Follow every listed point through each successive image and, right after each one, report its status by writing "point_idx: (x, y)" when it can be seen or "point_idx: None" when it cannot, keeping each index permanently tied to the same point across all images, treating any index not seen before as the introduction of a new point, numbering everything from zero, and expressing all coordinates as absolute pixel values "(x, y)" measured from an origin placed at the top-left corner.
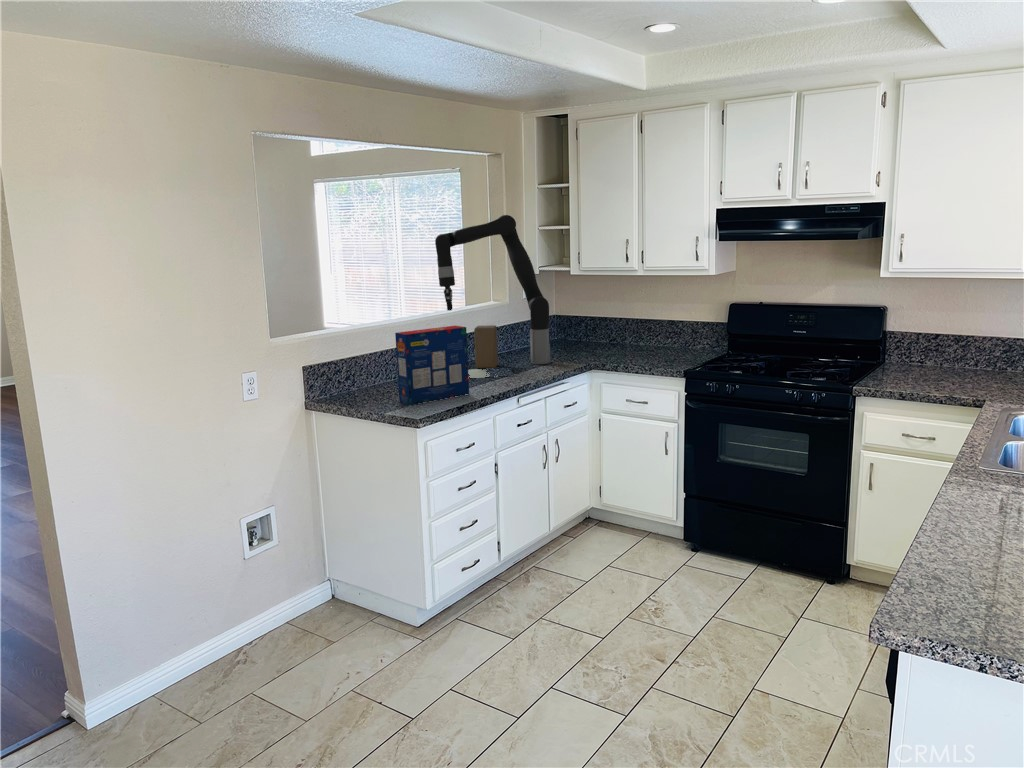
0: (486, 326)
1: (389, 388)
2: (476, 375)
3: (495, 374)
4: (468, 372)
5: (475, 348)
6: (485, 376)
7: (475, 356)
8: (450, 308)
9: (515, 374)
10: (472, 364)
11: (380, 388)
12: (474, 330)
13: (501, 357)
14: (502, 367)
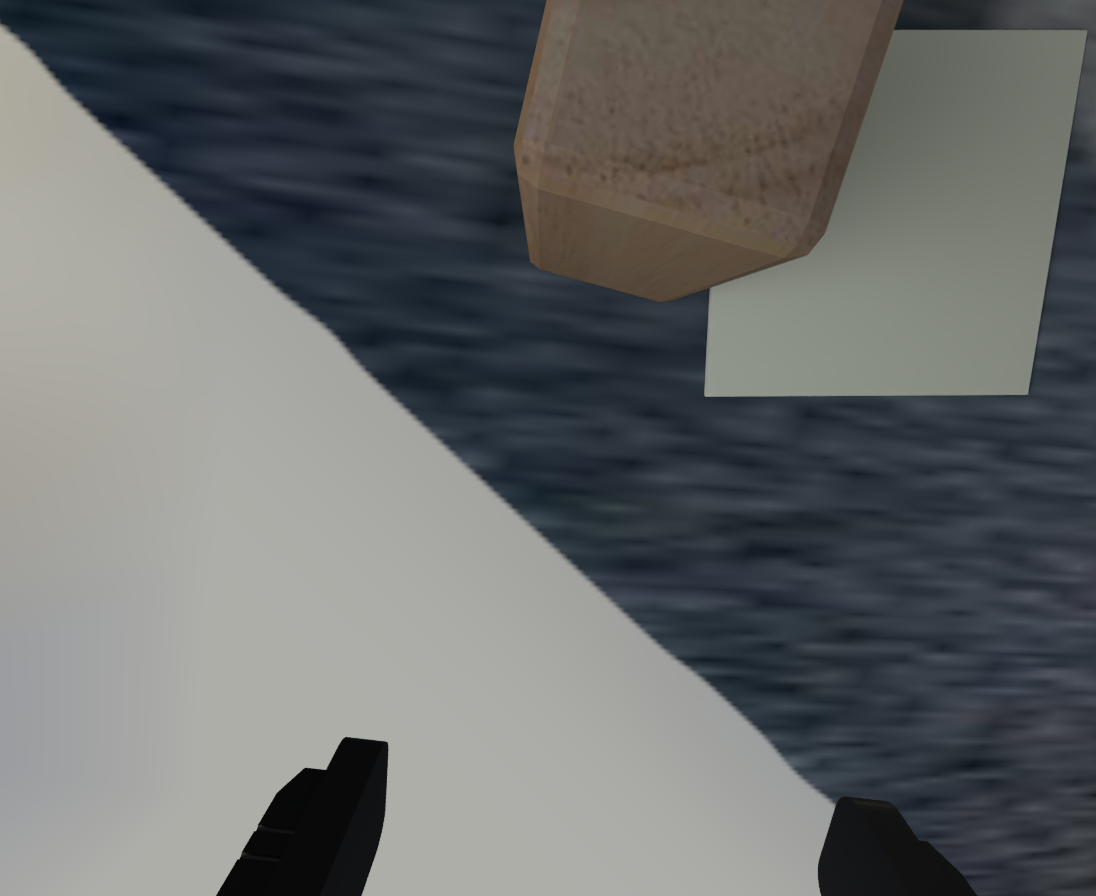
0: (725, 10)
1: (1073, 831)
2: (952, 331)
3: (976, 189)
4: (816, 374)
5: (718, 284)
6: (1017, 273)
7: (687, 294)
8: (945, 870)
9: (1014, 29)
10: (472, 308)
11: (1050, 871)
12: (798, 257)
13: (195, 14)
14: None
